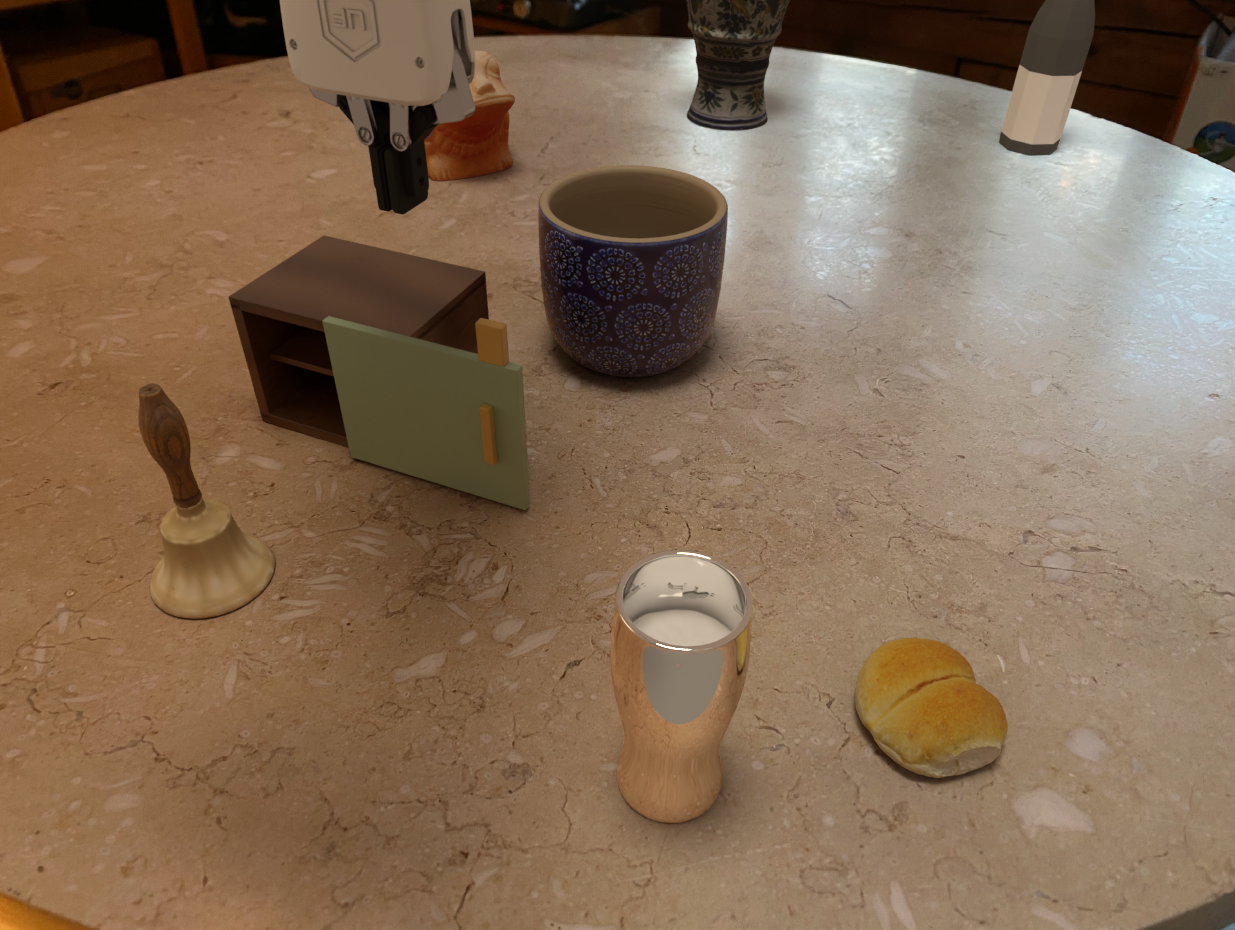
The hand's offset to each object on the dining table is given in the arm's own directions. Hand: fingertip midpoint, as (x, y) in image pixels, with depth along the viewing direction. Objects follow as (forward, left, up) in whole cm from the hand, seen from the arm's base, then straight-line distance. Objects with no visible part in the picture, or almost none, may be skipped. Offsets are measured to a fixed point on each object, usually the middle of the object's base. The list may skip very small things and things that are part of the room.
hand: (404, 204), depth 59 cm
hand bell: (-15, +10, -24) cm, 30 cm away
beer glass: (-17, -25, -24) cm, 38 cm away
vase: (+92, +7, -24) cm, 96 cm away
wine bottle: (+99, -36, -24) cm, 108 cm away
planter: (+25, -5, -24) cm, 35 cm away
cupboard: (+7, +11, -24) cm, 27 cm away
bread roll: (-7, -38, -24) cm, 46 cm away
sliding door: (0, +1, -23) cm, 23 cm away
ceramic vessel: (+61, +36, -24) cm, 75 cm away
